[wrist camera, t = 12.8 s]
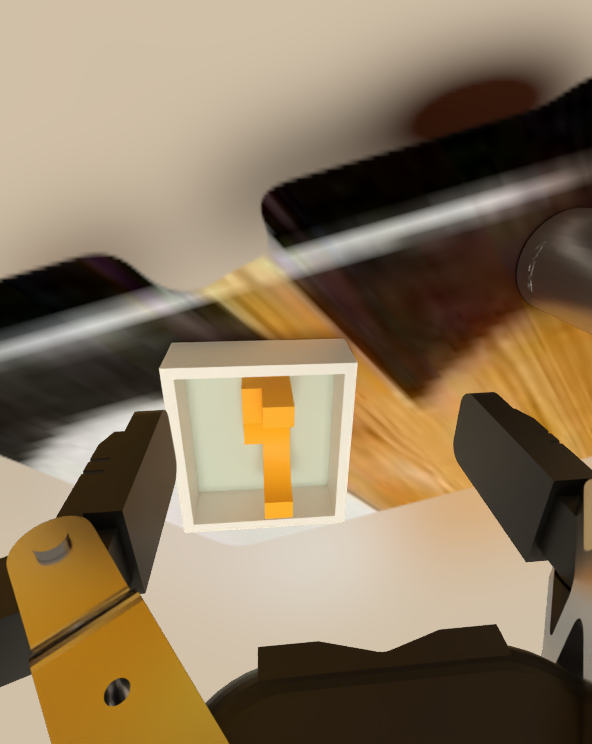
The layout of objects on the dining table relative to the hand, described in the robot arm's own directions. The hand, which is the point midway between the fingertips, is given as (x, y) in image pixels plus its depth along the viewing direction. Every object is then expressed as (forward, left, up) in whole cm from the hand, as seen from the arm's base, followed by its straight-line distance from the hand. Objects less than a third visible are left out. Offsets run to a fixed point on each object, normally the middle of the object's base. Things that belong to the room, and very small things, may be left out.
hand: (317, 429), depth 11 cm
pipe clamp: (+1, +16, -25) cm, 30 cm away
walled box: (+1, +17, -26) cm, 31 cm away
